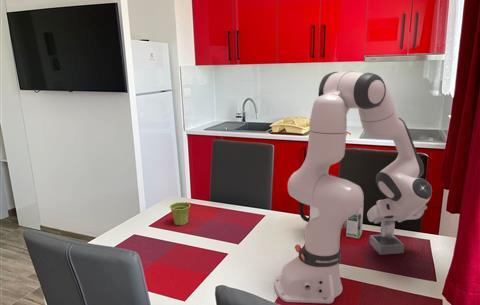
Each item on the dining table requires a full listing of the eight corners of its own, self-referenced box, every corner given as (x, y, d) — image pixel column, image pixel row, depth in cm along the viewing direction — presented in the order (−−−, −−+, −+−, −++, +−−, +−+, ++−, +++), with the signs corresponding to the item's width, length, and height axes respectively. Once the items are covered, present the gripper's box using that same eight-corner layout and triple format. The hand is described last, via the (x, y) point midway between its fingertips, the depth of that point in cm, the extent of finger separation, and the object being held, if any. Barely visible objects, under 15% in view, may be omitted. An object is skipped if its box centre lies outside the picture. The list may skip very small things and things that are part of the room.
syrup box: (345, 236, 162) (347, 204, 159) (348, 230, 167) (350, 200, 164) (359, 239, 160) (361, 206, 156) (362, 233, 165) (363, 202, 161)
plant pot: (168, 221, 182) (167, 204, 179) (187, 217, 185) (186, 200, 183) (174, 228, 173) (172, 211, 171) (193, 224, 177) (192, 207, 175)
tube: (382, 251, 149) (385, 218, 145) (376, 245, 154) (379, 213, 150) (395, 250, 149) (398, 217, 146) (389, 244, 154) (391, 212, 151)
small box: (346, 229, 169) (347, 212, 167) (336, 228, 170) (337, 211, 168) (346, 224, 174) (347, 208, 172) (337, 223, 175) (337, 207, 173)
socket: (380, 254, 146) (380, 246, 146) (369, 243, 156) (369, 235, 155) (403, 253, 147) (404, 244, 147) (391, 241, 157) (392, 233, 156)
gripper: (426, 197, 140) (409, 212, 152) (373, 200, 138) (360, 215, 150) (432, 213, 137) (415, 227, 149) (378, 216, 135) (364, 230, 147)
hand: (387, 221), depth 149 cm, fingers open, 8 cm apart
